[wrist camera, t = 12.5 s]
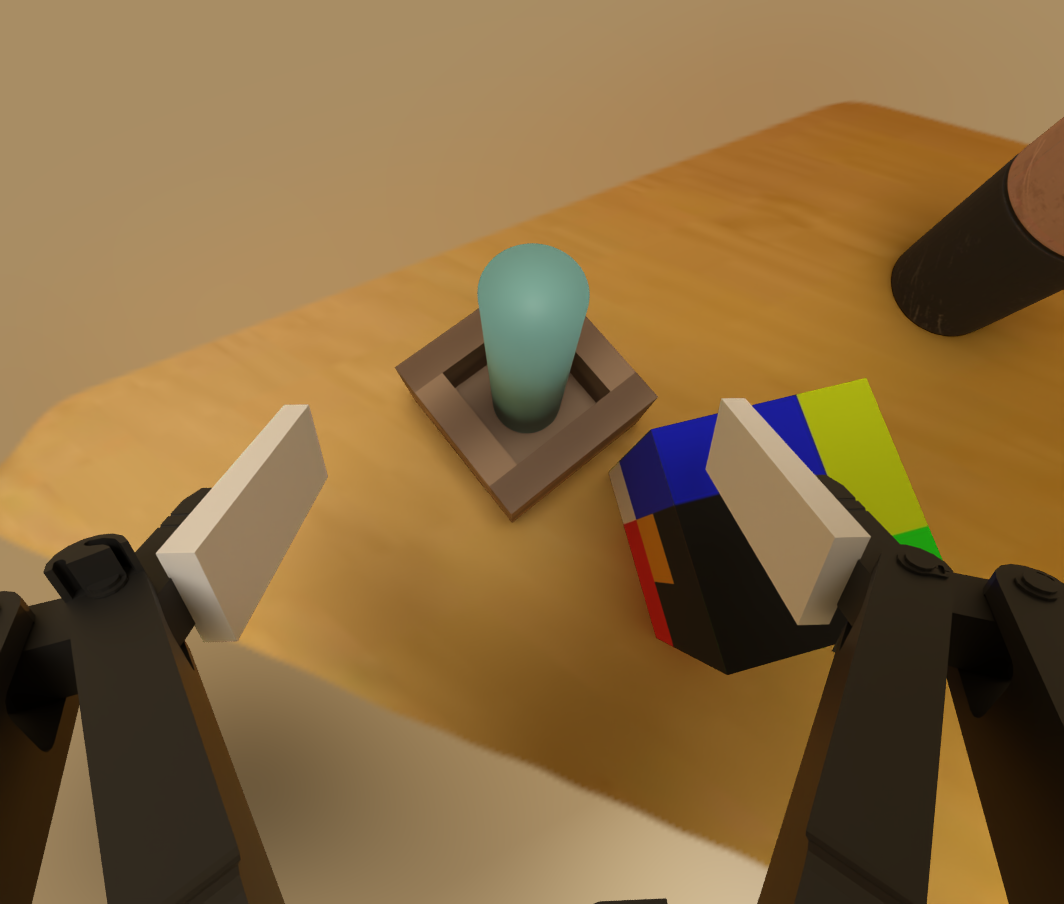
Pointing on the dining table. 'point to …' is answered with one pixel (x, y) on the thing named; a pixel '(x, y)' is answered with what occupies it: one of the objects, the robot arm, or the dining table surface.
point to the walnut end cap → (512, 457)
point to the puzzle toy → (718, 542)
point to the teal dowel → (531, 331)
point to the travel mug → (991, 247)
